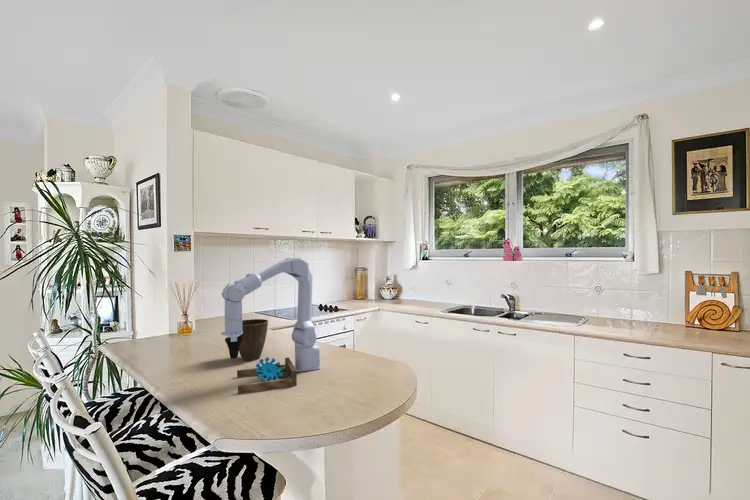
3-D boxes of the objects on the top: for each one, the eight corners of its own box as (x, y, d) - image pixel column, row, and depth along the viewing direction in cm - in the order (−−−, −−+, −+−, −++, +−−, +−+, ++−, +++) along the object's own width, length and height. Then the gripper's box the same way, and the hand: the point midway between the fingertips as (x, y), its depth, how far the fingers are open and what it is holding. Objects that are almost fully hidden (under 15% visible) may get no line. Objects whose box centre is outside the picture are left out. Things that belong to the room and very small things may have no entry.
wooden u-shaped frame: (289, 370, 142) (288, 357, 142) (296, 385, 126) (296, 370, 126) (237, 377, 135) (236, 363, 135) (237, 393, 119) (237, 378, 119)
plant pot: (225, 362, 154) (224, 324, 155) (245, 353, 169) (244, 318, 169) (257, 364, 151) (256, 325, 151) (274, 354, 166) (274, 319, 166)
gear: (258, 382, 125) (254, 356, 131) (252, 391, 128) (249, 365, 134) (288, 380, 131) (283, 355, 137) (283, 388, 134) (278, 364, 140)
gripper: (221, 316, 132) (222, 354, 132) (220, 323, 119) (220, 365, 119) (242, 315, 135) (242, 352, 135) (243, 321, 121) (243, 362, 121)
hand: (234, 358), depth 127 cm, fingers closed
